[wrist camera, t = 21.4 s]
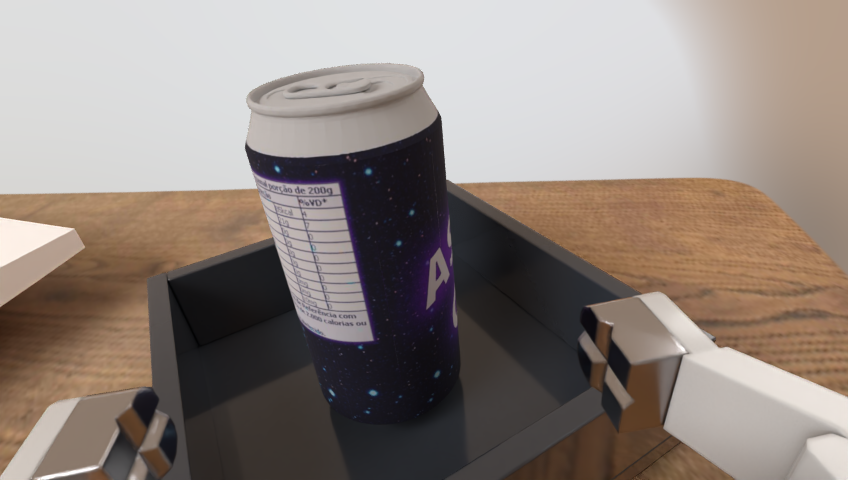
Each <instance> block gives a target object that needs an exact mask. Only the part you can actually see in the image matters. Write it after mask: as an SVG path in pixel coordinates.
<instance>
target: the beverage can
mask: <svg viewBox="0 0 848 480" xmlns="http://www.w3.org/2000/svg"><path fill="white" fill-rule="evenodd" d="M423 82H424V75H423V72H422V71H421V70H420V69H418V68H416V67H413V66H409V65H403V64H391V63H381V64H380V63H378V64H359V65H358V64H357V65H346V66H338V67H331V68H324V69H319V70H313V71H308V72H303V73H299V74H295V75H291V76H288V77H283V78H280V79H277V80H274V81H272V82H268V83H266V84H263V85H261V86H259V87H257V88H255V89H254V90H252V91H251V92H250V93H249V94H248V95H247V98H246V102H247V104H248V107H249V108H250V109H251V119H250V125H249V129H248V134H247V139H246V145H245V149H246V153H247V156H248V159H249V163H250V166H251V169H252V172H253V175H254V178H255V181H256V185H257V188H258V191H259V194H260V197H261V200H262V204H263V207H264V210H265V213H266V216H267V219H268V223H269V226H270V229H271V232H272V235H273V238H274V242H275V245H276V248H277V251H278V254H279V257H280V260H281V264H282V267H283V270H284V273H285V276H286V279H287V283H288V286H289V289H290V292H291V295H292V298H293V302H294V305H295V308H296V311H297V314H298V317H299V321H300V324H301V327H302V330H303V333H304V336H305V339H306V343H307V346H308V349H309V352H310V355H311V358H312V362H313V365H314V368H315V371H316V374H317V377H318V381H319V384H320V387H321V390H322V393H323V395H324V397H325V399H326V401H327V402H328V404H329V405H330V406H331V407H332V408H333V409H334V410H335V411H337V412H338V413H339V414H341V415H342V416H344V417H346V418H348V419H351V420H353V421H356V422H360V423H365V424H373V425H386V424H394V423H400V422H404V421H407V420H410V419H413V418H416V417H418V416H420V415H422V414H424V413H426V412H428V411H429V410H431V409H432V408H434V407H435V406H437V405H438V404H439V403H440V402H441V401H442V400H443V399H444V398H445V397H446V396H447V395H448V394H449V393H450V391H451V390H452V388H453V387H454V385H455V383H456V381H457V379H458V376H459V372H460V366H461V359H460V346H459V334H458V321H457V308H456V296H455V283H454V271H453V258H452V246H451V233H450V221H449V208H448V196H447V183H446V171H445V158H444V146H443V133H442V121H441V116H440V114H439V112H438V110H437V109H436V107H435V105H434V104H433V102H432V101H431V99H430V97H429V96H428V94H427V93H426V91H425V89H424V87H423V85H422V84H423Z"/></svg>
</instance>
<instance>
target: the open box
mask: <svg viewBox="0 0 848 480" xmlns="http://www.w3.org/2000/svg"><path fill="white" fill-rule="evenodd" d="M446 183H447V196H448V208H449V221H450V233H451V246H452V258H453V271H454V283H455V296H456V308H457V321H458V334H459V346H460V359H461V366H460V372H459V376H458V379H457V381H456V383H455V385H454V387H453V388H452V390H451V391H450V393H449V394H448V395H447V396H446V397H445V398H444V399H443V400H442V401H441V402H440V403H439V404H438V405H437V406H435V407H434V408H432V409H431V410H429V411H428V412H426V413H424V414H422V415H420V416H418V417H416V418H413V419H410V420H407V421H404V422H400V423H394V424H386V425H373V424H365V423H360V422H356V421H353V420H351V419H348V418H346V417H344V416H342V415H341V414H339V413H338V412H337V411H335V410H334V409H333V408H332V407H331V406H330V405H329V404H328V402H327V401H326V399H325V397H324V395H323V393H322V390H321V387H320V384H319V381H318V377H317V374H316V371H315V368H314V365H313V362H312V358H311V355H310V352H309V349H308V346H307V343H306V339H305V336H304V333H303V330H302V327H301V324H300V321H299V317H298V314H297V311H296V308H295V305H294V302H293V298H292V295H291V292H290V289H289V286H288V283H287V279H286V276H285V273H284V270H283V267H282V264H281V260H280V257H279V254H278V251H277V248H276V245H275V242H274V238H273V237H272V238H269V239H266V240H263V241H260V242H257V243H254V244H251V245H248V246H245V247H242V248H239V249H236V250H233V251H230V252H227V253H224V254H221V255H218V256H215V257H212V258H209V259H206V260H203V261H200V262H197V263H193V264H190V265H187V266H184V267H181V268H178V269H175V270H172V271H169V272H167V273H166V272H165V273H162V274H159V275H156V276H153V277H150V278H147V291H148V311H149V330H150V350H151V370H152V389H153V390H154V391H155V393H156V394H157V396H158V397H159V399H160V401H159V403H158V406H157V408H156V409H157V410H159V411H161V412H163V413H165V414H167V415H169V416H170V417H171V419H172V421H173V423H174V424H175V428H176V432H177V436H178V439H177V454H176V457H175V460H174V463H173V467H172V469H171V470H170V471H169V472H168V473H167V474H166V475H165V476H164V477H163V478H162V479H161V480H631V479H632V478H633V477H635V476H636V475H637V474H639V473H640V472H641V471H643V470H644V469H645V468H647V467H648V466H649V465H651V464H652V463H653V462H655V461H656V460H657V459H659V458H660V457H661V456H662V455H664V454H665V453H666V452H668V451H669V450H670V449H672V448H673V447H674V446H676V445H677V444H678V443H680V442H681V441H680V440H679V439H677V438H676V437H674V436H673V435H672V434H670V433H669V432H667V431H666V430H664V429H663V427H664V426H661V427H656V428H650V429H645V430H639V431H633V432H628V433H622V434H618V432H617V430H616V429H615V427H614V425H613V424H612V422H611V420H610V419H609V417H608V416H607V414H606V412H605V411H604V409H603V407H602V406H601V399H602V393H601V392H600V391H598V390H596V389H594V388H593V387H591V386H590V385H589V384H588V382H587V380H586V379H585V377H584V375H583V372H582V370H581V367H580V365H579V360H578V355H577V342H578V338H579V337H580V335H581V334H582V333H583V332H584V331H585V329H584V328H583V326H582V325H581V323H580V322H579V321H580V313H581V310H582V308H583V307H584V306H586V305H591V304H596V303H602V302H607V301H612V300H617V299H623V298H628V297H633V296H637V295H642V294H641V293H640V292H638V291H636V290H635V289H633V288H631V287H630V286H628V285H626V284H624V283H623V282H621V281H619V280H618V279H616V278H614V277H612V276H611V275H609V274H607V273H606V272H604V271H602V270H601V269H599V268H597V267H595V266H594V265H592V264H590V263H589V262H587V261H585V260H584V259H582V258H580V257H578V256H577V255H575V254H573V253H572V252H570V251H568V250H566V249H565V248H563V247H561V246H560V245H558V244H556V243H555V242H553V241H551V240H549V239H548V238H546V237H544V236H543V235H541V234H539V233H537V232H536V231H534V230H532V229H531V228H529V227H527V226H526V225H524V224H522V223H520V222H519V221H517V220H515V219H514V218H512V217H510V216H509V215H507V214H505V213H503V212H502V211H500V210H498V209H497V208H495V207H493V206H491V205H490V204H488V203H486V202H485V201H483V200H481V199H480V198H478V197H476V196H474V195H473V194H471V193H469V192H468V191H466V190H464V189H463V188H461V187H459V186H457V185H456V184H454V183H452V182H451V181H449V180H446ZM700 329H701V328H700ZM701 330H702V331H703V332H704V333H705V334H706V335H707V336H708V337H709V338H710V339H711V340H712V341H713V342H714V343H715V341H716V337H715V336H713V335H711V334H710V333H708V332H706V331H705V330H703V329H701Z"/></svg>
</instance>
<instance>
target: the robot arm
mask: <svg viewBox="0 0 848 480" xmlns="http://www.w3.org/2000/svg"><path fill="white" fill-rule="evenodd" d="M579 322H580V323H581V325H582V326H583V328H584V329H585V331H584V332H583V333H582V334H581V335H580V337H579V338H578V342H577V355H578V360H579V365H580V367H581V370H582V372H583V375H584V377H585V379H586V380H587V382H588V384H589V385H590V386H591V387H593V388H594V389H596V390H598V391H600V392H601V393H602V399H601V406H602V407H603V409H604V411H605V412H606V414H607V416H608V417H609V419H610V420H611V422H612V424H613V425H614V427H615V429H616V430H617V432H618V434H622V433H628V432H633V431H639V430H645V429H650V428H656V427H661V426H664V427H663V429H664V430H666V431H667V432H669V433H670V434H672V435H673V436H674V437H676V438H677V439H679V440H680V441H681V442H683V443H684V444H686V445H687V446H689V447H690V448H691V449H693V450H694V451H696V452H697V453H699V454H700V455H701V456H703V457H704V458H706V459H707V460H708V461H710V462H711V463H713V464H714V465H716V466H717V467H718V468H720V469H721V470H723V471H724V472H725V473H727V474H728V475H730V476H731V477H733V478H734V479H735V480H848V397H846V396H844V395H842V394H839V393H837V392H834V391H832V390H830V389H827V388H825V387H823V386H820V385H818V384H815V383H813V382H811V381H808V380H806V379H803V378H801V377H799V376H796V375H794V374H791V373H789V372H787V371H784V370H782V369H779V368H777V367H775V366H772V365H770V364H767V363H765V362H763V361H760V360H758V359H756V358H753V357H751V356H748V355H746V354H744V353H741V352H739V351H736V350H734V349H732V348H729V347H723V348H719V347H718V346H717V345H716V344H715V343H714V342H713V341H712V340H711V339H710V338H709V337H708V336H707V335H706V334H705V333H704V332H703V331H702V330H701V329H700V328H699V327H698V326H697V325H696V324H695V323H694V322H693V321H692V320H691V319H690V318H689V317H688V316H687V315H686V314H685V313H684V312H683V311H681V310H680V309H679V308H678V307H677V306H676V305H675V304H674V303H673V302H672V301H671V300H670V299H669V298H668V297H667V296H666V295H665V294H663V293H661V292H659V291H657V292H652V293H647V294H642V295H637V296H633V297H628V298H623V299H617V300H612V301H607V302H602V303H596V304H591V305H586V306H584V307H583V308H582V310H581V313H580V321H579ZM159 401H160V399H159V397H158V396H157V394H156V393H155V391H154V390H153V389H152V387H138V388H131V389H125V390H119V391H113V392H106V393H100V394H94V395H87V396H86V397H79V398H73V399H66V400H59V401H57V402H55V403H54V404H52V405H51V406H49V407H48V408H47V409H46V411H45V412H44V414H43V415H42V416H41V418H40V419H39V421H38V422H37V424H36V425H35V427H34V428H33V430H32V431H31V433H30V434H29V436H28V437H27V438H26V440H25V441H24V443H23V444H22V446H21V447H20V449H19V450H18V452H17V453H16V455H15V456H14V457H13V459H12V460H11V462H10V463H9V465H8V466H7V468H6V469H5V471H4V472H3V474H2V475H1V477H0V480H161V479H162V478H163V477H164V476H165V475H166V474H167V473H168V472H169V471H170V470H171V469H172V467H173V463H174V460H175V457H176V454H177V439H178V436H177V432H176V428H175V424H174V423H173V421H172V419H171V417H170V416H169V415H167V414H165V413H163V412H161V411H159V410H157V409H156V408H157V406H158V403H159Z"/></svg>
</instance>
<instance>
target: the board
mask: <svg viewBox="0 0 848 480" xmlns="http://www.w3.org/2000/svg"><path fill="white" fill-rule="evenodd" d="M84 248H85V246H84V244H83V243H82V241H81V239H80V237H79V236H78V234H77V232H76V230H75V229H72V228H66V227H59V226H52V225H46V224H39V223H33V222H26V221H19V220H13V219H6V218H0V307H1V306H2V305H4V304H5V303H7V302H8V301H10V300H11V299H12V298H14V297H15V296H17V295H18V294H20V293H21V292H23V291H24V290H26V289H27V288H28V287H30V286H31V285H33V284H34V283H36V282H37V281H39V280H40V279H41V278H43V277H44V276H46V275H47V274H49V273H50V272H51V271H53V270H54V269H56V268H57V267H59V266H60V265H61V264H63V263H64V262H66V261H67V260H68V259H70V258H71V257H73V256H74V255H75V254H77V253H78V252H80V251H81V250H83V249H84Z"/></svg>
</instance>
